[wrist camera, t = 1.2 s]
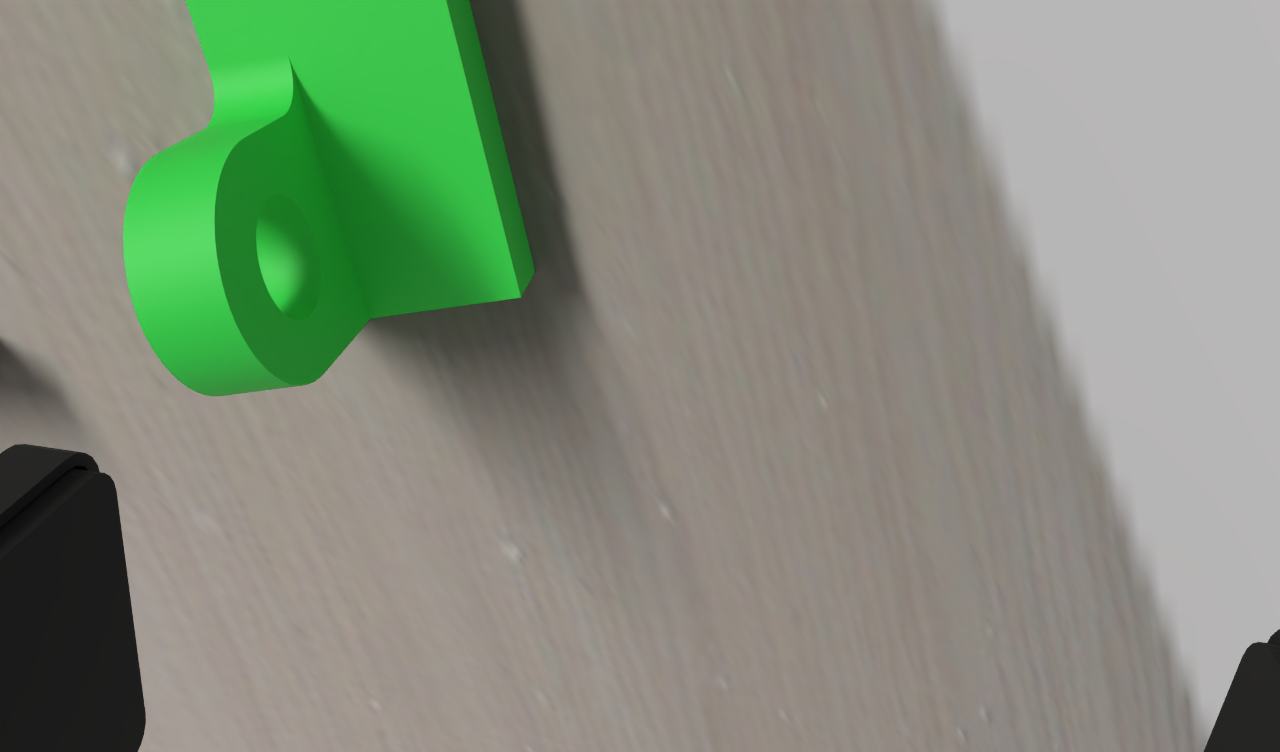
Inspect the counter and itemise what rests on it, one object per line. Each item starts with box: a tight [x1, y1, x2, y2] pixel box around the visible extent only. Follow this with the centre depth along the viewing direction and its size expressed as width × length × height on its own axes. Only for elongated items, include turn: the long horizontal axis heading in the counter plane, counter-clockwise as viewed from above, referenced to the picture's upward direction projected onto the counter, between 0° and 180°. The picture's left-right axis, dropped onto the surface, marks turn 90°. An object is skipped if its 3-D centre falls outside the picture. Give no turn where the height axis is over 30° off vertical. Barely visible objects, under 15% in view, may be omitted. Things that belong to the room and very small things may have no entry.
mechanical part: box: [123, 0, 535, 396], centre depth 24 cm, size 12×6×8 cm, turn 11°
